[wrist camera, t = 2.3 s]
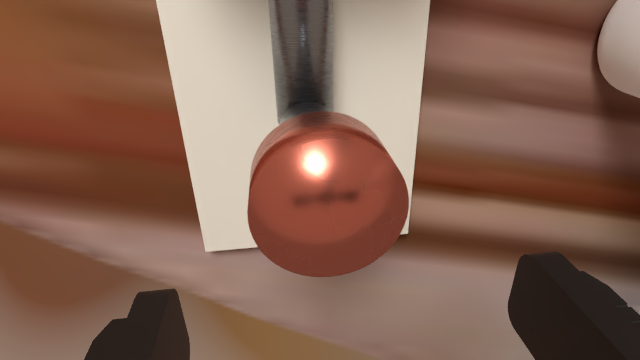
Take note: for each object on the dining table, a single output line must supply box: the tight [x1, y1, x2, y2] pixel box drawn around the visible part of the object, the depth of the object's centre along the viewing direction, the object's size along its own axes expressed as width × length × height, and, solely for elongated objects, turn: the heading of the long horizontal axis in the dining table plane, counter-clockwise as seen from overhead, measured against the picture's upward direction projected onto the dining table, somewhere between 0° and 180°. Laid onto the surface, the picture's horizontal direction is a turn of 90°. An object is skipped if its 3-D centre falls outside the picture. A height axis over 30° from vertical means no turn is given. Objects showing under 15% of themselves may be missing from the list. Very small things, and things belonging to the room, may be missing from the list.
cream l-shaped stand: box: [156, 0, 430, 252], centre depth 17 cm, size 26×13×9 cm, turn 1°
